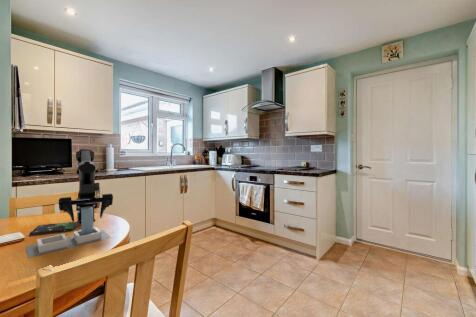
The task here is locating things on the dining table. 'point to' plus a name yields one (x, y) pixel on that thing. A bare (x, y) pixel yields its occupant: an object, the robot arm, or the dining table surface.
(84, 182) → the robot arm
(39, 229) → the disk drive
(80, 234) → the grey double socket base
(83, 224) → the plug
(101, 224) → the dining table surface
